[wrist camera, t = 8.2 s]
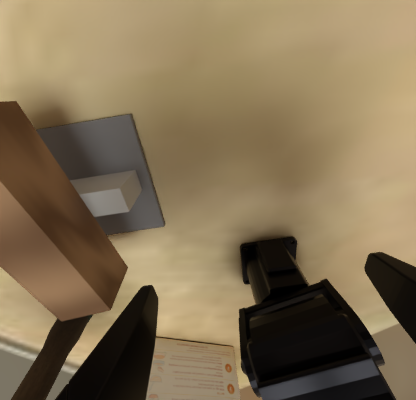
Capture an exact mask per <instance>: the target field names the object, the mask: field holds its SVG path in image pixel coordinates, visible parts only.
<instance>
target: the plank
mask: <svg viewBox="0 0 416 400" xmlns="http://www.w3.org/2000/svg"><path fill="white" fill-rule="evenodd" d="M0 267H2V268H3V269H4V270H5V271H6V272H7V273H8V274H9V275H10V276H12V277H13V278H14V279H15V280H16V281H17V282H18V283H19V284H20V285H21V286H23V287H24V288H25V289H26V290H27V291H28V292H29V293H30V294H31V295H33V296H34V297H35V298H36V299H37V300H38V301H39V302H40V303H41V304H43V305H44V306H45V307H46V308H47V309H48V310H49V311H50V312H51V313H53V314H54V315H55V316H56V317H57V318H58V319H59V320H60V321H66V320H70V319H74V318H79V317H83V316H87V315H92V314H96V313H100V312H105V311H109V310H111V308H112V306H113V303H114V301H115V298H116V296H117V293H118V291H119V288H120V286H121V284H122V281H123V279H124V276H125V274H126V271H127V269H128V267H127V265H126V264H125V262H124V261H123V259H122V258H121V256H120V255H119V253H118V252H117V250H116V249H115V247H114V246H113V245H112V243H111V242H110V240H109V239H108V237H107V236H106V234H105V233H104V231H103V230H102V228H101V227H100V225H99V224H98V222H97V221H96V219H95V218H94V216H93V215H92V213H91V212H90V210H89V209H88V207H87V206H86V204H85V203H84V201H83V200H82V198H81V197H80V195H79V194H78V192H77V191H76V189H75V188H74V186H73V185H72V183H71V182H70V180H69V179H68V177H67V176H66V174H65V173H64V172H63V170H62V169H61V167H60V166H59V164H58V163H57V161H56V160H55V158H54V157H53V155H52V154H51V152H50V151H49V149H48V148H47V146H46V145H45V143H44V142H43V140H42V139H41V137H40V136H39V134H38V133H37V131H36V130H35V128H34V127H33V125H32V124H31V122H30V121H29V119H28V118H27V116H26V115H25V113H24V112H23V110H22V109H21V107H20V106H19V104H18V103H17V101H10V102H0Z"/></svg>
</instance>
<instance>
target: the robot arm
mask: <svg viewBox="0 0 416 400" xmlns="http://www.w3.org/2000/svg"><path fill="white" fill-rule="evenodd" d="M291 241H292V242H291ZM243 248H245V249H243ZM296 248H297V240H296V239H295V238H294V237H287V238H281V239H274V240H267V241H260V242H253V243H247V244H242V245H241V246H240V253H241V264H242V275H243V282H244V284H250V285H251V289H252V292H253V296H254V300H255V303H256V305H253V306H251V307H248V308H242V309H239V317H240V318H239V332H240V350H241V368H242V371H243V373H244V374H246V375H247V376H248V379H249V382H250V384H251V387H252V389H253V391H254V393H255V394H256V395H257V397H262V399H263V400H396V398H395V397H394V395H393V393H392V391H391V389H390V388H389V386H388V384H387V382H386V381H385V379H384V377H383V375H382V373H381V372H380V370H379V368H378V366H382V365H384V364H385V362H384V359H383V357H382V354H381V352H380V350H379V348H378V347H377V345H376V343H375V341H374V340H373V338H372V336H371V335H370V333H369V331H368V330H367V328H366V327H365V325H364V324H363V323H362V321H361V320H360V318H359V317H358V316H357V314H356V313H355V312H354V311H353V310H352V308H351V307H350V306H349V305H348V304H347V302H346V301H345V300H344V299H343V298H342V297H341V295H340V294H339V293H338V292H337V291H336V289H335V288H334V287H333V286H332V285H331V284H330V282H329V281H328V280H327V279H324V280H321V282H319V283H316V284H313V285H309V283H308V282H307V280H306V278H305V277H304V275H303V273H302V271H301V270H300V268H299V266H298V265H297V263H296V261H295V259H296ZM365 272H366V274H367V276H368V277H369V279H370V280H371V282H372V283H373V285H374V287H375V288H376V290H377V291H378V293H379V294H380V296H381V297H382V299H383V300H384V302H385V304H386V305H387V307H388V308H389V309H390V311H391V312H392V314H393V315H394V316H395V318H396V319H397V320H398V322H399V323H400V324H401V325H402V327H403V328H404V329H405V331H406V332H407V333H408V334H409V336H410V337H411V338H412V340H413V341H414V342H415V343H416V267H414V266H412V265H410V264H408V263H405V262H403V261H401V260H399V259H396V258H394V257H392V256H389V255H387V254H385V253H382V252H376V253H370V254H369V255H368V258H367V261H366V264H365ZM157 314H158V297H157V294H156V292H155V289H154V287H153V286H152V285H147V286H143V287H141V288H140V290H139V291H138V292H137V294H136V295H135V296H134V298H133V299H132V300H131V301H130V303H129V304H128V305H127V307H126V308H125V309H124V311H123V312H122V313H121V314H120V316H119V317H118V318H117V320H116V321H115V322H114V324H113V325H112V326H111V327H110V329H109V330H108V331H107V333H106V334H105V335H104V337H103V338H102V339H101V340H100V342H99V343H98V344H97V346H96V347H95V348H94V350H93V351H92V352H91V353H90V355H89V356H88V357H87V359H86V360H85V361H84V363H83V364H82V365H81V366H80V368H79V369H78V370H77V372H76V373H75V374H74V376H73V377H72V378H71V379H70V381H69V384H67V385H66V386H65V387H64V389H63V390H62V391H61V392H60V394H59V395H58V396H57V398H56V399H55V400H146V396H147V390H148V384H149V378H150V372H151V366H152V360H153V354H154V348H155V341H156V328H157Z"/></svg>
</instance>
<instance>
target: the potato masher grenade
mask: <svg viewBox="0 0 416 400" xmlns="http://www.w3.org/2000/svg"><path fill="white" fill-rule="evenodd" d="M92 315H93V314H92ZM92 315H87V316H83V317H79V318H74V319H70V320H66V321H60V320H59V319H58V318H57V320H56V322H55V323H54V325H53V327H52V328H51V330H50V332H49V334H48V336H47V339H46V341H45V344H44V346H43V348H42V350H41V352H40V353H39V355H38V356H37V358H36V360H35V361H34V363H33V365H32V366H31V368H30V370H29V371H28V373H27V374H26V376H25V378H24V379H23V381H22V382H21V384H20V386H19V387H18V389H17V391H16V392H15V394H14V395H13V397H12V399H11V400H46V398H47V396H48V394H49V392H50V389H51V388H52V386H53V384H54V382H55V380H56V378H57V376H58V374H59V372H60V370H61V368H62V366H63V364H64V362H65V360H66V358H67V356H68V354H69V353H70V351H71V350H72V348H73V347H74V345H75V344H76V343H77V341H78V340H79V338H80V336H81V334H82V332H83V330H84V328H85V326H86V324H87V323H88V322H89V320H90V318H91V317H92Z"/></svg>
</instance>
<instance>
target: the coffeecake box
mask: <svg viewBox="0 0 416 400" xmlns="http://www.w3.org/2000/svg"><path fill="white" fill-rule="evenodd" d="M146 400H241V399H240V391H239V384H238V377H237V370H236V363H235V356H234V349H233V347H231V346H221V345H213V344H205V343H197V342H189V341H181V340H173V339H165V338H157V337H156V341H155V348H154V354H153V360H152V366H151V372H150V378H149V384H148V390H147V396H146Z"/></svg>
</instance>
